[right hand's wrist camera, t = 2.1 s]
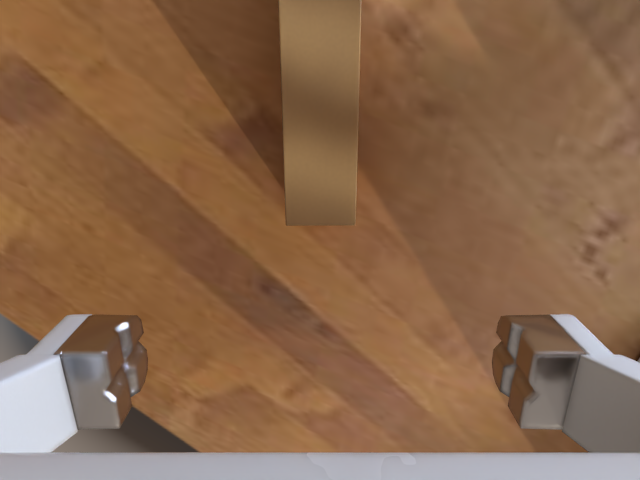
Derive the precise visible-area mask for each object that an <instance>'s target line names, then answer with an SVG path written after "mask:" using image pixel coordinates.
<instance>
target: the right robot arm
mask: <svg viewBox="0 0 640 480" xmlns="http://www.w3.org/2000/svg"><path fill="white" fill-rule="evenodd" d="M143 333H144V332H143V327H142V322H141V319H140V318H139V317H138V316H137V315H92V314H73V315H67V316H66V317H64V318H63V319H62V320H61V321H60V322H59V323H58V324H57V325H56V326H55V327H54V328H53V329H52V330H51V331H50V332H49V333H48V334H47V335H46V336H45V337H44V338H43V339H42V340H41V341H40V342H39V343H38V344H37V345H36V346H35V347H34V348H33V349H32V350H31V351H30V352H29V353H28V354H26V355H17V356H15V357H12V358H10V359H8V360H6V361H3V362H1V363H0V480H640V358H639V360H638V362H637V361H634V360H632V359H630V358H628V357H625V356H623V355H614V354H613V353H612V352H611V351H609V350H608V349H607V348H606V347H605V346H604V345H603V344H602V343H601V342H600V341H599V340H598V339H597V338H596V337H595V336H594V335H593V334H592V333H591V332H590V331H589V330H588V329H587V328H586V327H585V326H584V325H583V324H582V323H581V322H580V321H579V320H578V319H577V318H576V317H575V316H573V315H570V314H555V315H514V316H501V317H500V320H499V322H498V326H497V332H496V333H497V334H498V336H499V337H500V339H501V342H500V343H499V344H498V345H497V346H496V347H495V349H494V350H493V358H492V368H493V376H494V379H495V382H496V385H497V387H498V388H499V390H500V392H502V393H503V394H505V395H507V396H508V397H509V402H508V407H509V408H510V410H511V412H512V414H513V416H514V417H515V419H516V421H517V423H518V424H519V426H520V428H524V429H561V430H562V432H564V433H565V434H566V435H567V436H569V437H570V438H571V439H573V440H574V441H575V442H576V443H578V444H579V445H580V446H582V447H583V448H584V449H586V450H587V451H588V452H589V453H51V452H52V451H53V450H55V449H56V448H57V447H58V446H60V445H61V444H62V443H64V442H65V441H66V440H68V439H69V438H70V437H71V436H73V435H74V434H75V433H77V432H78V430H79V429H114V428H120V426H121V425H122V423H123V421H124V419H125V417H126V416H127V414H128V412H129V410H130V408H131V407H132V402H131V397H132V396H133V395H135V394H137V393H138V392H140V390H141V388H142V386H143V385H144V383H145V379H146V375H147V370H148V357H147V350H146V349H145V347H144V346H143V345H142V344H141V343H140V342H139V339H140V337H141V336H142V334H143Z"/></svg>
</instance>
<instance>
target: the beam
mask: <svg viewBox="0 0 640 480" xmlns="http://www.w3.org/2000/svg"><path fill="white" fill-rule="evenodd" d="M361 1H362V0H278V5H279V35H280V65H281V95H282V125H283V155H284V185H285V215H286V225H287V226H334V225H356V194H357V155H358V117H359V78H360V40H361Z"/></svg>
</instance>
